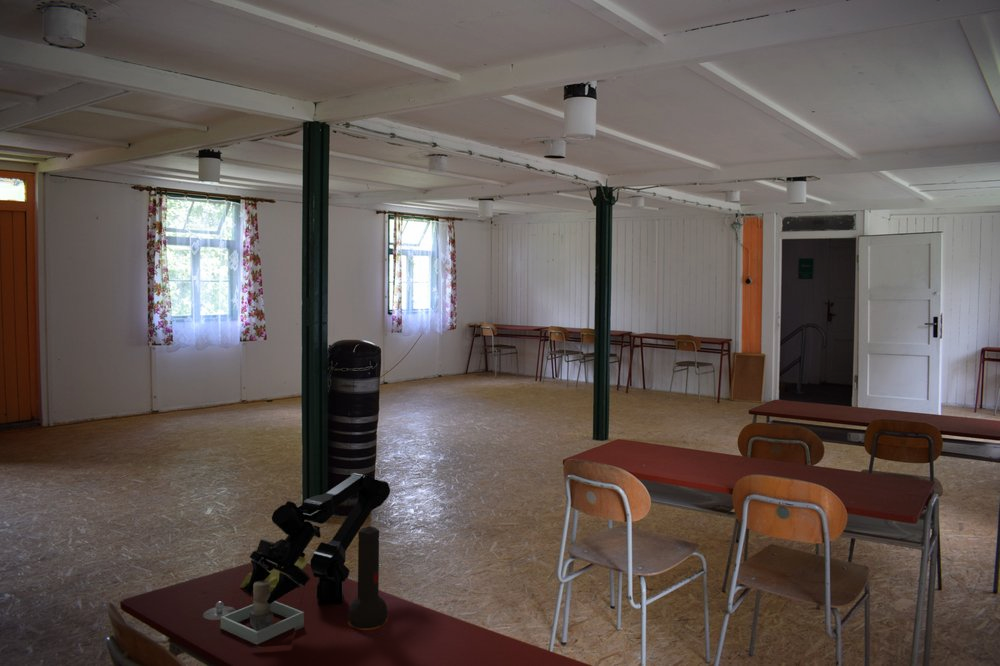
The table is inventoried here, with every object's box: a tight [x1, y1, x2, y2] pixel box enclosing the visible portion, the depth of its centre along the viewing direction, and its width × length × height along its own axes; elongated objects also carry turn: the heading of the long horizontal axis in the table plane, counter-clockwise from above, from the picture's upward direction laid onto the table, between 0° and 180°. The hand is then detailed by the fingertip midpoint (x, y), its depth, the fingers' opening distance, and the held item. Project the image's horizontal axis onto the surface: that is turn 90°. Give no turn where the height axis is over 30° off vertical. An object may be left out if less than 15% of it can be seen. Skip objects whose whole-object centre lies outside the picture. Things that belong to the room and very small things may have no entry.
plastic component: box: [239, 555, 308, 593], centre depth 212 cm, size 20×7×10 cm
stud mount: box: [202, 600, 237, 621], centre depth 188 cm, size 8×8×4 cm
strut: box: [249, 581, 274, 631], centre depth 181 cm, size 4×4×11 cm
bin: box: [220, 600, 305, 649], centre depth 182 cm, size 14×14×4 cm
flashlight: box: [347, 525, 388, 630], centre depth 187 cm, size 10×25×10 cm
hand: (257, 597), depth 180 cm, fingers open, 9 cm apart
